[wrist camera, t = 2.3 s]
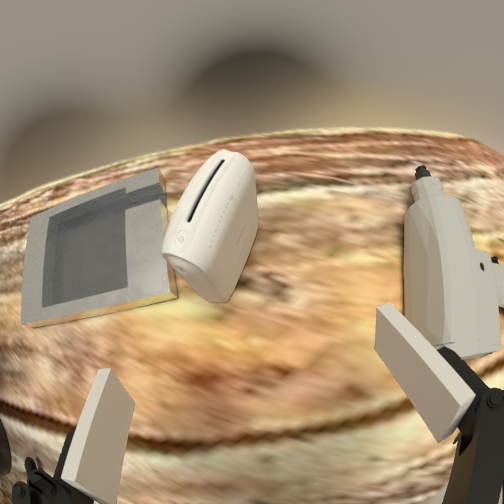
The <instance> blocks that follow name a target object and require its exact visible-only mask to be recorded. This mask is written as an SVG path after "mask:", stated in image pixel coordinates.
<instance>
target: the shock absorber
mask: <svg viewBox="0 0 504 504" xmlns="http://www.w3.org/2000/svg"><path fill="white" fill-rule="evenodd" d="M25 468H26V472H21V473H20V479H21V481H23V482H25V483H26V484H27V477H28V475H29V473H30V472H31V471H33V470H35V469H37V467H36V464H35V462H34V460H33V459H32V458H30V457H27V458H26V459H25Z"/></svg>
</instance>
